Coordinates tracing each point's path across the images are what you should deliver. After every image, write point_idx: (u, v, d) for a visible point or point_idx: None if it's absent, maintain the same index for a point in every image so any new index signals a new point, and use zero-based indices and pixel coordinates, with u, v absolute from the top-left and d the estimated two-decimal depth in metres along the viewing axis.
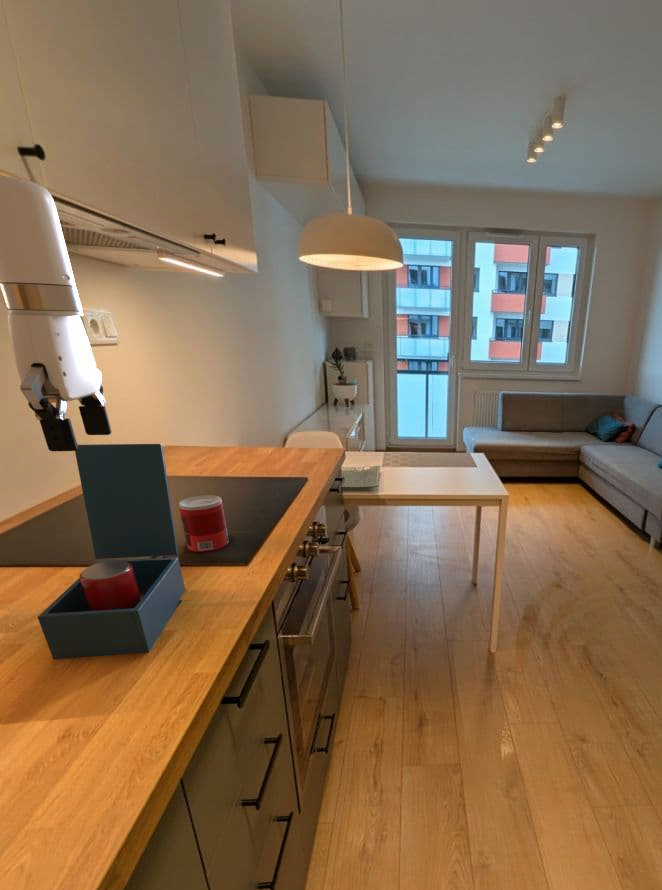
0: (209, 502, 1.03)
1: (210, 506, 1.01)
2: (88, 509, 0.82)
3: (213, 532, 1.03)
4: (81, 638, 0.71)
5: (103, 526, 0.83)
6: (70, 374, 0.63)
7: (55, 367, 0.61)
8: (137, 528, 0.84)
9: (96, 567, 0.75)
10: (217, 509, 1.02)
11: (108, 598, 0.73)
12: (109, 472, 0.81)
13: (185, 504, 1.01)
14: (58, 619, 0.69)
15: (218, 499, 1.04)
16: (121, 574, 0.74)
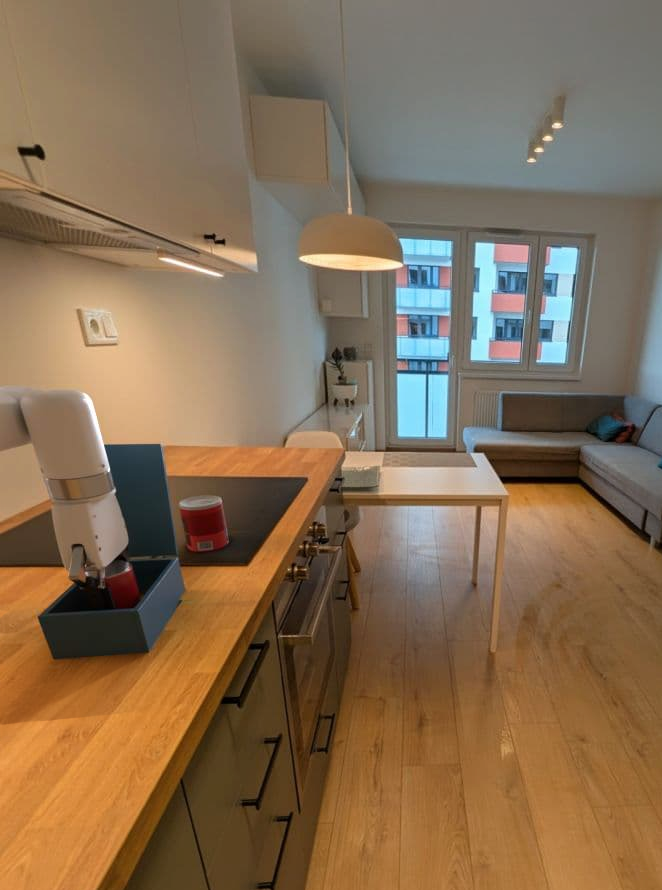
0: (209, 502, 1.03)
1: (210, 506, 1.01)
2: None
3: (213, 532, 1.03)
4: (81, 638, 0.71)
5: None
6: (104, 546, 0.70)
7: (92, 545, 0.68)
8: (137, 528, 0.84)
9: None
10: (217, 509, 1.02)
11: None
12: None
13: (185, 504, 1.01)
14: (58, 619, 0.69)
15: (218, 499, 1.04)
16: (121, 574, 0.74)
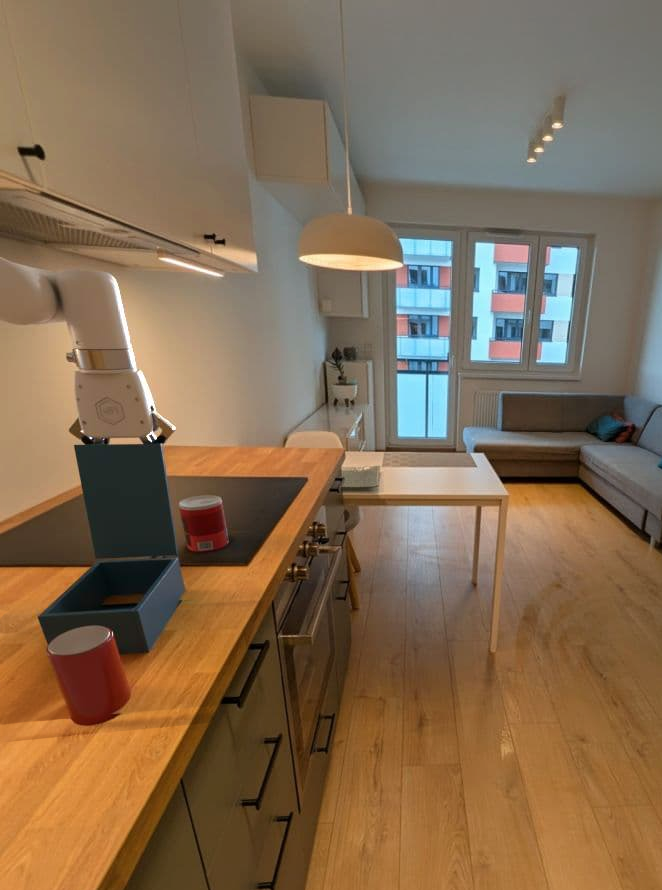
0: (209, 502, 1.03)
1: (210, 506, 1.01)
2: (88, 509, 0.82)
3: (213, 532, 1.03)
4: None
5: (103, 526, 0.83)
6: None
7: (154, 406, 0.83)
8: (137, 528, 0.84)
9: (68, 636, 0.60)
10: (217, 509, 1.02)
11: (81, 678, 0.59)
12: (109, 472, 0.81)
13: (185, 504, 1.01)
14: (58, 619, 0.69)
15: (218, 499, 1.04)
16: (98, 647, 0.59)
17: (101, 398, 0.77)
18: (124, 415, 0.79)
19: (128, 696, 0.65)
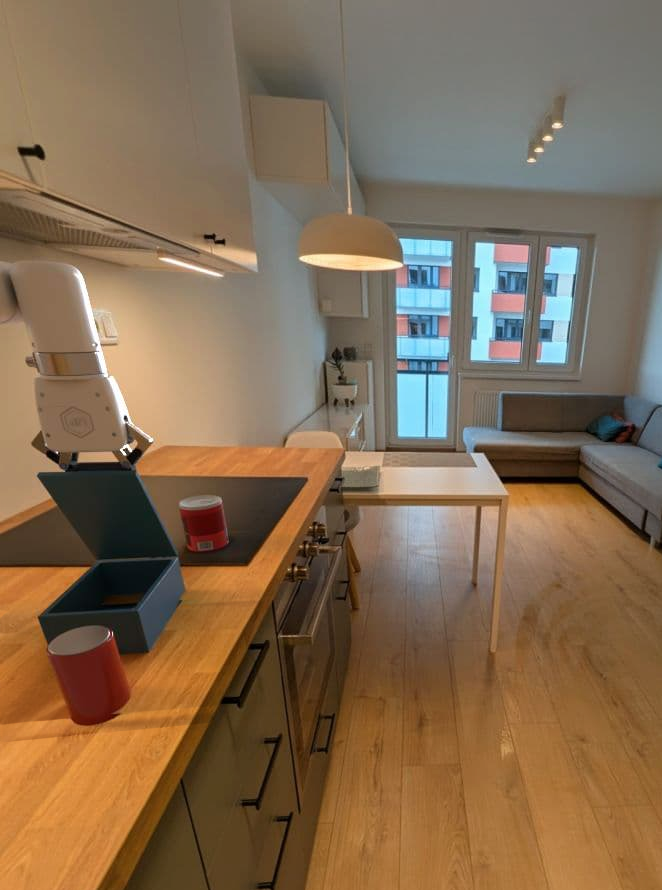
0: (209, 502, 1.03)
1: (210, 506, 1.01)
2: (74, 526, 0.78)
3: (213, 532, 1.03)
4: None
5: (95, 538, 0.80)
6: None
7: (128, 416, 0.74)
8: (131, 538, 0.81)
9: (68, 636, 0.60)
10: (217, 509, 1.02)
11: (81, 678, 0.59)
12: (86, 497, 0.74)
13: (185, 504, 1.01)
14: (58, 619, 0.69)
15: (218, 499, 1.04)
16: (98, 647, 0.59)
17: (66, 408, 0.68)
18: (93, 427, 0.70)
19: (128, 696, 0.65)
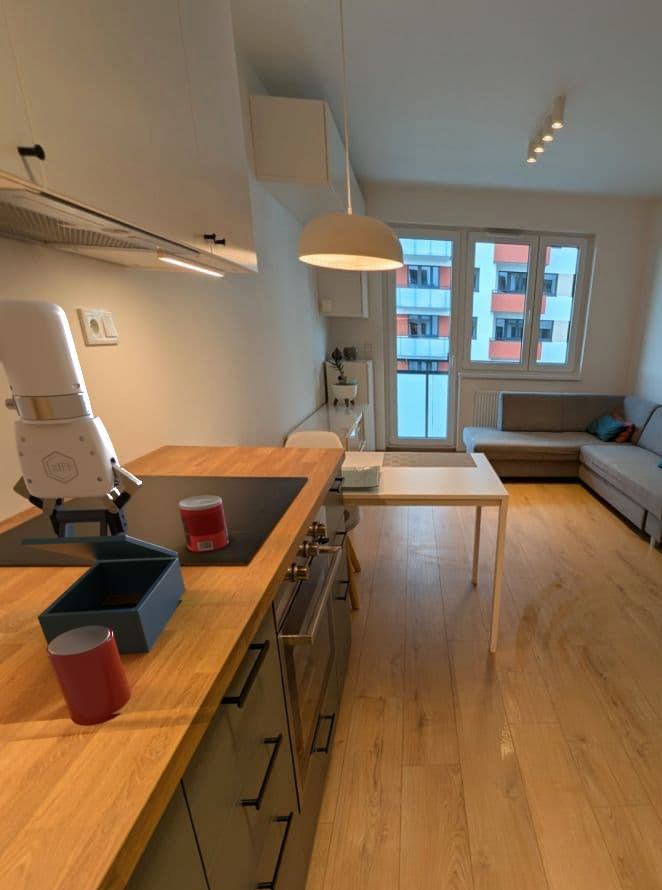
0: (209, 502, 1.03)
1: (210, 506, 1.01)
2: (69, 554, 0.76)
3: (213, 532, 1.03)
4: None
5: (92, 556, 0.79)
6: None
7: (116, 458, 0.70)
8: (129, 555, 0.80)
9: (68, 636, 0.60)
10: (217, 509, 1.02)
11: (81, 678, 0.59)
12: (76, 548, 0.71)
13: (185, 504, 1.01)
14: (58, 619, 0.69)
15: (218, 499, 1.04)
16: (98, 647, 0.59)
17: (49, 452, 0.64)
18: (77, 472, 0.66)
19: (128, 696, 0.65)
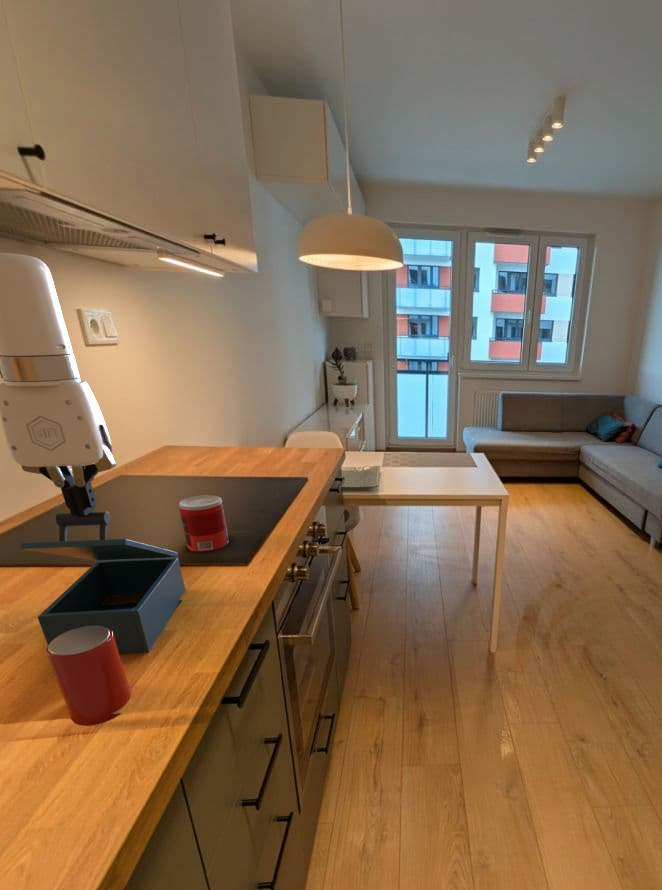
0: (209, 502, 1.03)
1: (210, 506, 1.01)
2: None
3: (213, 532, 1.03)
4: None
5: (92, 557, 0.79)
6: None
7: (105, 426, 0.67)
8: (129, 556, 0.80)
9: (68, 636, 0.60)
10: (217, 509, 1.02)
11: (81, 678, 0.59)
12: (76, 550, 0.71)
13: (185, 504, 1.01)
14: (58, 619, 0.69)
15: (218, 499, 1.04)
16: (98, 647, 0.59)
17: (34, 417, 0.61)
18: (64, 438, 0.63)
19: (128, 696, 0.65)
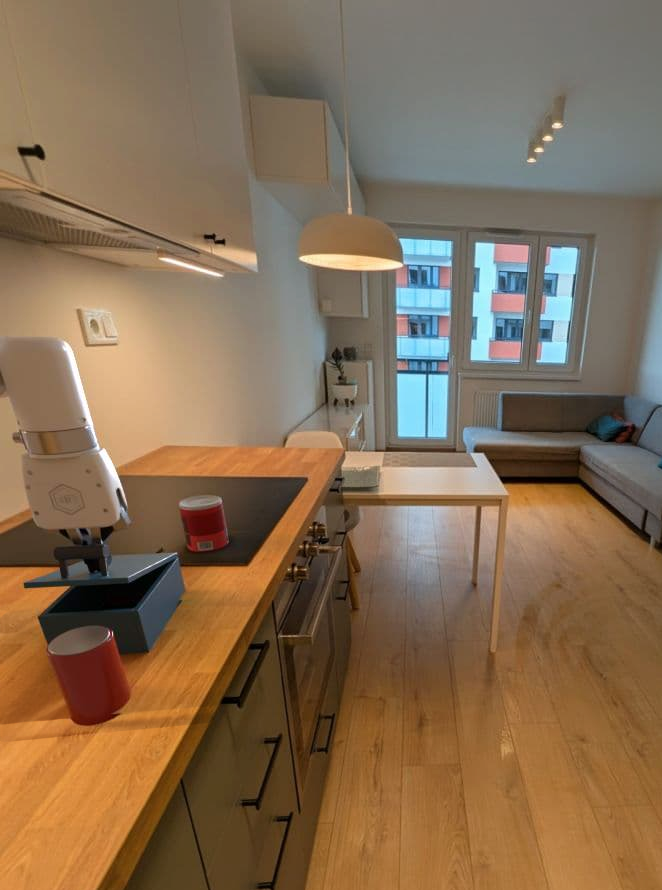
0: (209, 502, 1.03)
1: (210, 506, 1.01)
2: None
3: (213, 532, 1.03)
4: None
5: None
6: None
7: (121, 488, 0.71)
8: None
9: (68, 636, 0.60)
10: (217, 509, 1.02)
11: (81, 678, 0.59)
12: None
13: (185, 504, 1.01)
14: (58, 619, 0.69)
15: (218, 499, 1.04)
16: (98, 647, 0.59)
17: (55, 485, 0.65)
18: (84, 503, 0.66)
19: (128, 696, 0.65)
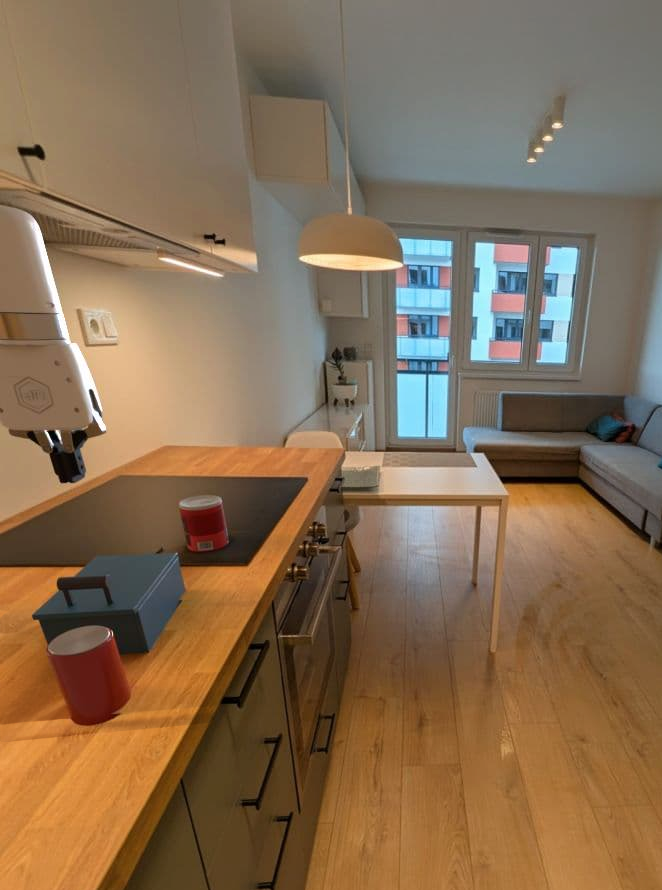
0: (209, 502, 1.03)
1: (210, 506, 1.01)
2: None
3: (213, 532, 1.03)
4: None
5: None
6: None
7: (95, 390, 0.65)
8: None
9: (68, 636, 0.60)
10: (217, 509, 1.02)
11: (81, 678, 0.59)
12: None
13: (185, 504, 1.01)
14: (58, 619, 0.69)
15: (218, 499, 1.04)
16: (98, 647, 0.59)
17: (21, 378, 0.59)
18: (53, 400, 0.61)
19: (128, 696, 0.65)
